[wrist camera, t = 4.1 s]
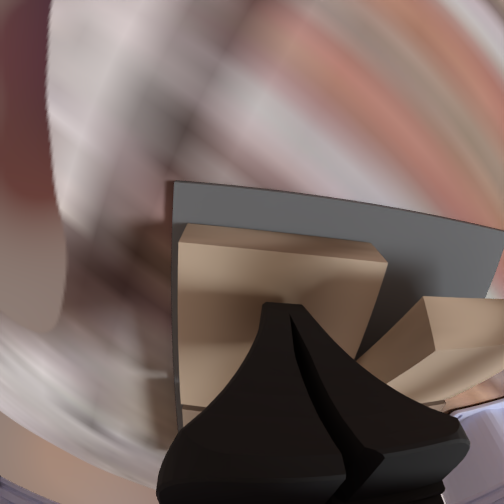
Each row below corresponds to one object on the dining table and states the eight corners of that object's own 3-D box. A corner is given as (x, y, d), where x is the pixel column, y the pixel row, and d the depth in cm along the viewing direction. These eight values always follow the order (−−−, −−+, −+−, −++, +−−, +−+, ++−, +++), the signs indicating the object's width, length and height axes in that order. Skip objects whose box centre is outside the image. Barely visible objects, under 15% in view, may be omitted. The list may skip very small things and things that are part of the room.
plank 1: (371, 242, 12) (388, 262, 10) (324, 385, 15) (331, 411, 14) (187, 223, 12) (178, 241, 10) (185, 377, 15) (180, 404, 13)
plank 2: (540, 299, 9) (552, 336, 8) (444, 370, 15) (449, 398, 14) (423, 296, 9) (435, 350, 8) (337, 377, 15) (338, 410, 14)
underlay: (505, 231, 12) (508, 233, 12) (391, 449, 20) (392, 452, 19) (175, 180, 11) (174, 182, 11) (181, 452, 18) (180, 456, 18)
